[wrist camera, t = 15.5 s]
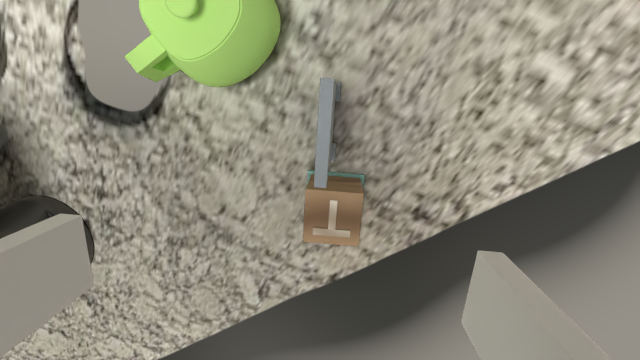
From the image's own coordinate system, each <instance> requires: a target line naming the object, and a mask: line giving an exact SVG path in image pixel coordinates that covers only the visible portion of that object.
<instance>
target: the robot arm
mask: <svg viewBox="0 0 640 360" xmlns="http://www.w3.org/2000/svg"><path fill="white" fill-rule="evenodd" d="M93 253H94V246H93V240H92V237H91V234H90V232H89V230H88V228H87V226H86V224H85V223H84V222H83V220H82V215H77V214H76V213H75V212H74V211H73V210H72V209H71V208H69V207H68V206H66V205H65V204H63V203H61V202H59V201H57V200H55V199H52V198H49V197H44V196H28V197H24V198H21V199H18V200H15V201H12V202H9V203H7V204H5V205H3V206H2V207H0V358H1V357H2V356H3V355H4V354H6V353H7V352H8V351H10V350H11V349H12V348H13V347H15V346H16V345H17V344H19V343H20V342H21V341H23V340H24V339H25V338H26V337H28V336H29V335H30V334H32V333H33V332H34V331H36V330H37V329H38V328H39V327H41V326H42V325H43V324H45V323H46V322H47V321H48V320H50V319H51V318H52V317H54V316H55V315H56V314H58V313H59V312H60V311H61V310H63V309H64V308H65V307H67V306H68V305H69V304H70V303H72V302H73V301H74V300H76V299H77V298H78V297H80V296H81V295H82V294H83V293H85V292H86V291H87V290H89V289H90V288H91V287H93V286H94V283H93V278H92V272H91V266H90V264H91V261H92V258H93ZM461 323H462V325H463V327H464V329H465V331H466V333H467V335H468V336H469V338H470V340H471V342H472V344H473V346H474V348H475V350H476V352H477V353H478V355H479V357H480V359H481V360H612V359H611V358H610V357H609V356H608V355H607V354H606V353H605V352H604V351H603V350H602V349H601V348H600V347H599V346H598V345H597V344H596V343H594V342H593V340H591V339H590V338H589V337H588V336H587V335H586V334H585V333H584V332H583V331H582V330H581V329H580V328H579V327H578V326H577V325H576V324H575V323H574V322H573V321H572V320H571V319H570V318H569V317H568V316H567V315H566V314H565V313H564V312H563V311H562V310H561V309H560V308H559V307H558V306H557V305H556V304H555V303H554V302H553V301H552V300H550V298H548V296H546V295H545V294H544V293H543V292H542V291H541V290H540V289H539V288H538V287H537V286H536V285H535V284H534V283H533V282H532V281H531V280H530V279H529V278H528V277H527V276H526V275H525V274H524V273H523V272H522V271H521V270H520V269H519V268H518V267H517V266H516V265H515V264H514V263H513V262H512V261H511V260H510V259H509V258H507V256H506V255H505V254H503V253H500V252H489V251H478V252H477V257H476V261H475V265H474V269H473V274H472V278H471V282H470V286H469V291H468V295H467V299H466V303H465V308H464V312H463V316H462V321H461Z"/></svg>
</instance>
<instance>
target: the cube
mask: <svg viewBox="0 0 640 360" xmlns="http://www.w3.org/2000/svg"><path fill="white" fill-rule="evenodd" d="M314 176H315V175H314V174H311V176H310V179H309V181H308V184H307V186H306V189H305V210H304V231H303V242H314V243H325V244H337V245H349V246H358V244H359V235H360V225H361V216H362V206H363V197H364V192H363V188H362V183H361V179H360V178H354V177H341V176H328V180H327V186H326V188H318V187H314Z"/></svg>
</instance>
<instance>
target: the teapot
mask: <svg viewBox="0 0 640 360" xmlns="http://www.w3.org/2000/svg"><path fill="white" fill-rule="evenodd" d="M139 7H140V12H141V15H142V18H143V21H144V22H145V24H146V26H147V27H148V29H149V31H150V33H151V35H150V36H149V37H148V38H146V39H145V40H144V41H143V42H142V43H141V44H139V45H138V46H137V47H135V48H134V49H133V50H132V51H130V52H129V53H128V54H127V55H126V56H125V58H126V59H127V61H128V62H129V63H130V64H131V66H132V67H133V68H134V69H135V71H136V72H137V73H138V74H140V75H142V76H144V77H146V78H148V79H151V80H153V81H155V82H157V81H159V80H161V79H163V78H165V77H167V76H170V75H172V74H174V73H176V72H178V71H180V70H182V71H183V72H184V73H185V74H187V75H188V76H189V77H190V78H192V79H194V80H195V81H197V82H199V83H201V84H204V85H207V86H212V87H225V86H229V85H232V84H235V83H238V82H240V81H242V80H244V79H245V78H247V77H249V76H250V75H252V74H253V73H254V72H255V71H257V70H258V69H259V68H260V67H261V66H262V64H263V63H264V62H265V61H266V59H267V58H268V57H269V55H270V53H271V52H272V50H273V48H274V46H275V44H276V42H277V39H278V37H279V33H280V25H281V21H280V14H279V10H278V7H277V5H276V3H275V0H139Z"/></svg>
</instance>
